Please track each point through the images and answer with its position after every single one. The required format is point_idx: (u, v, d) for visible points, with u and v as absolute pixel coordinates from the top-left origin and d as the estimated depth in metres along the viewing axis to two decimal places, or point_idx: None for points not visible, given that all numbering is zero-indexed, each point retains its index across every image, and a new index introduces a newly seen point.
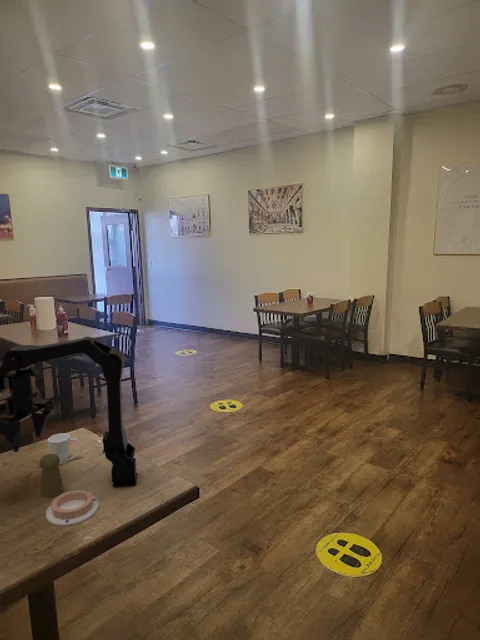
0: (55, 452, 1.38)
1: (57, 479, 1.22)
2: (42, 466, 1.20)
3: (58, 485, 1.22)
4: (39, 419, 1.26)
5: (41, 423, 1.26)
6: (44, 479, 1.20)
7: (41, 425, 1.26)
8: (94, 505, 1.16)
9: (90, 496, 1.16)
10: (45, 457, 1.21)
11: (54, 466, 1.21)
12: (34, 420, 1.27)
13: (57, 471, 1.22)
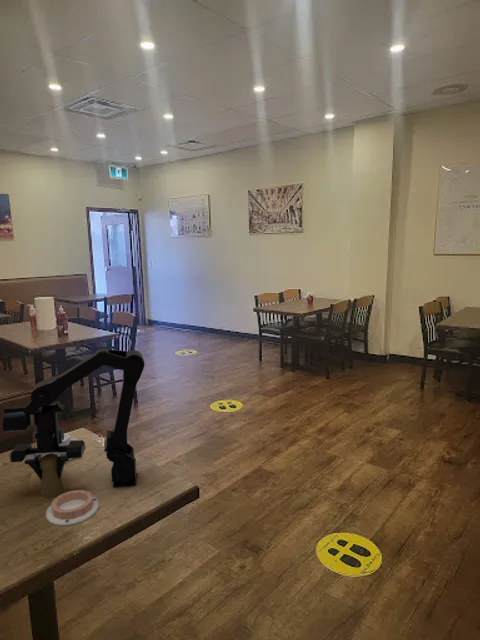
0: None
1: (57, 479, 1.22)
2: (42, 466, 1.20)
3: (58, 485, 1.22)
4: None
5: None
6: (44, 479, 1.20)
7: None
8: (94, 505, 1.16)
9: (90, 496, 1.16)
10: (45, 457, 1.21)
11: (54, 466, 1.21)
12: None
13: (57, 471, 1.22)
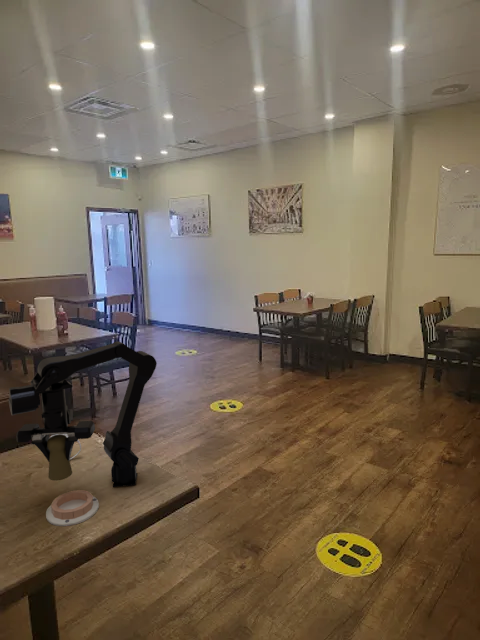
0: None
1: (65, 461, 1.16)
2: (49, 447, 1.14)
3: (66, 467, 1.16)
4: None
5: None
6: (52, 460, 1.15)
7: None
8: (94, 505, 1.16)
9: (90, 496, 1.16)
10: (53, 438, 1.15)
11: (62, 447, 1.15)
12: None
13: (65, 452, 1.16)
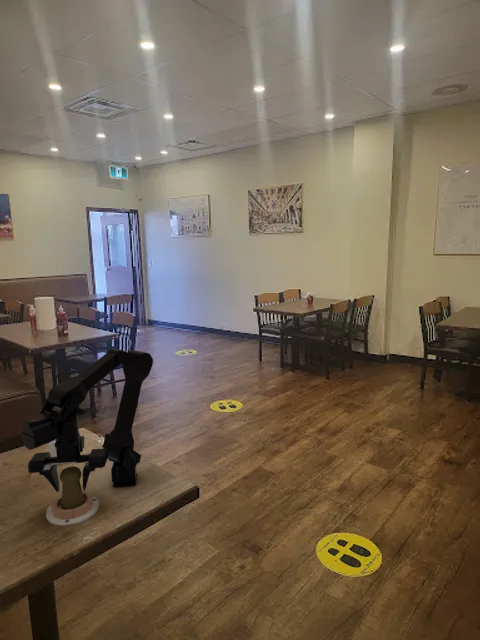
0: (55, 452, 1.38)
1: (78, 494, 1.13)
2: (63, 480, 1.11)
3: (79, 500, 1.13)
4: None
5: (83, 477, 1.12)
6: (65, 494, 1.12)
7: None
8: (94, 505, 1.16)
9: (90, 496, 1.16)
10: (66, 470, 1.12)
11: (76, 480, 1.12)
12: None
13: (79, 485, 1.13)
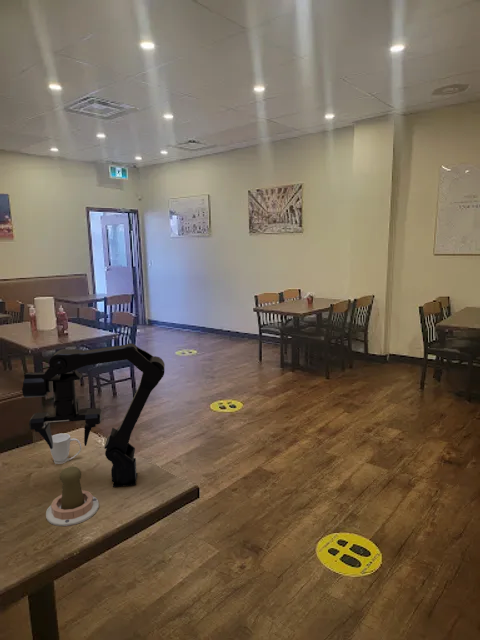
0: (55, 452, 1.38)
1: (78, 494, 1.13)
2: (63, 480, 1.11)
3: (79, 500, 1.13)
4: None
5: None
6: (65, 494, 1.12)
7: (85, 435, 1.23)
8: (94, 505, 1.16)
9: (90, 496, 1.16)
10: (66, 470, 1.12)
11: (76, 480, 1.12)
12: None
13: (79, 485, 1.13)
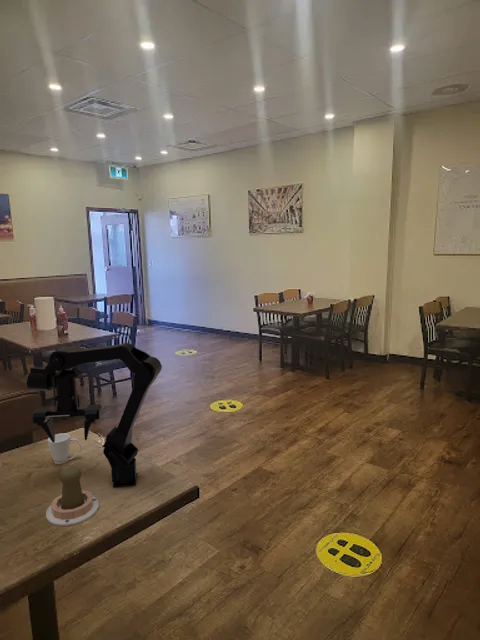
0: (55, 452, 1.38)
1: (78, 494, 1.13)
2: (63, 480, 1.11)
3: (79, 500, 1.13)
4: None
5: None
6: (65, 494, 1.12)
7: None
8: (94, 505, 1.16)
9: (90, 496, 1.16)
10: (66, 470, 1.12)
11: (76, 480, 1.12)
12: None
13: (78, 485, 1.13)
